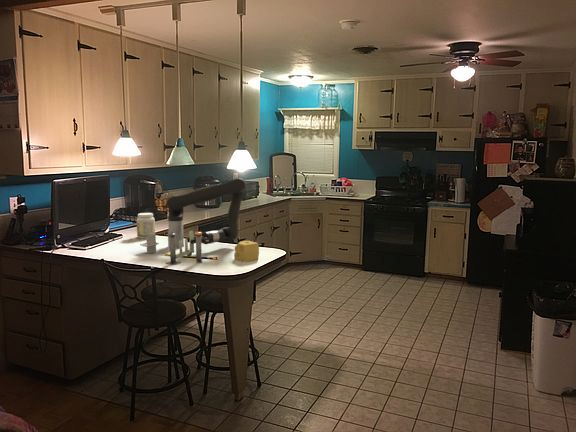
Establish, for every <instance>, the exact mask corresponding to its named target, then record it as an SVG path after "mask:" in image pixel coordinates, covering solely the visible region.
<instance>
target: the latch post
mask: <svg viewBox="0 0 576 432" xmlns="http://www.w3.org/2000/svg"><path fill="white" fill-rule="evenodd" d="M202 233H203V232H202V231H195V232H194V236H196V243H195V253H196V254H195V257H196V258H195V260H196V262H195V263H196V264H202V262H203V259H202V253H203V252H202V251H203V250H202V243H201V235H202Z"/></svg>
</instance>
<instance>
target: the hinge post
mask: <svg viewBox="0 0 576 432" xmlns="http://www.w3.org/2000/svg"><path fill="white" fill-rule="evenodd" d="M175 235H176V233H170V234H169V236H170V247H169V256H170V259H169V260H170V261H167V262H165V265H166V264H167V265H170V266H174V265H179V264H181V263H182V262H181V261H177V259H176V254H177V252H176V249H177V248H176V247H175Z"/></svg>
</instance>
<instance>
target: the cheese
mask: <svg viewBox="0 0 576 432" xmlns="http://www.w3.org/2000/svg"><path fill="white" fill-rule="evenodd" d="M234 251H235V252H234V254H233V255H234V256H233V257H234V259H235V260H238V261H241V262H243V263H247V262H250V261H251V262H252V261H256V260H259V255H260V247H259V242H255V241H251V240H242V241H239V242H238V243H237V244H236V245H234Z"/></svg>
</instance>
